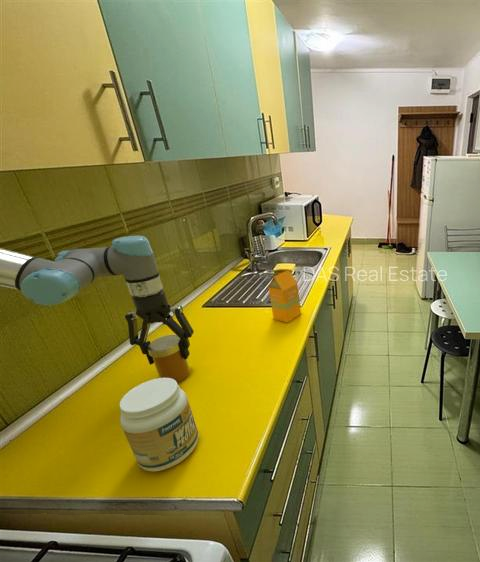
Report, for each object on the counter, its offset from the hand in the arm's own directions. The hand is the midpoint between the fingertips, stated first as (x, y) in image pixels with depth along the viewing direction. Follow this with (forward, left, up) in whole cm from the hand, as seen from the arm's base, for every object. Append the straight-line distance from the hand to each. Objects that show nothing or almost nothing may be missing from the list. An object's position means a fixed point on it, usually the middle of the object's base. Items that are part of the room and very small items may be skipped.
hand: (170, 359), depth 93 cm
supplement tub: (+16, -25, -7) cm, 30 cm away
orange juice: (+23, +39, -7) cm, 46 cm away
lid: (0, 0, +6) cm, 6 cm away
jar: (0, 0, -6) cm, 6 cm away
